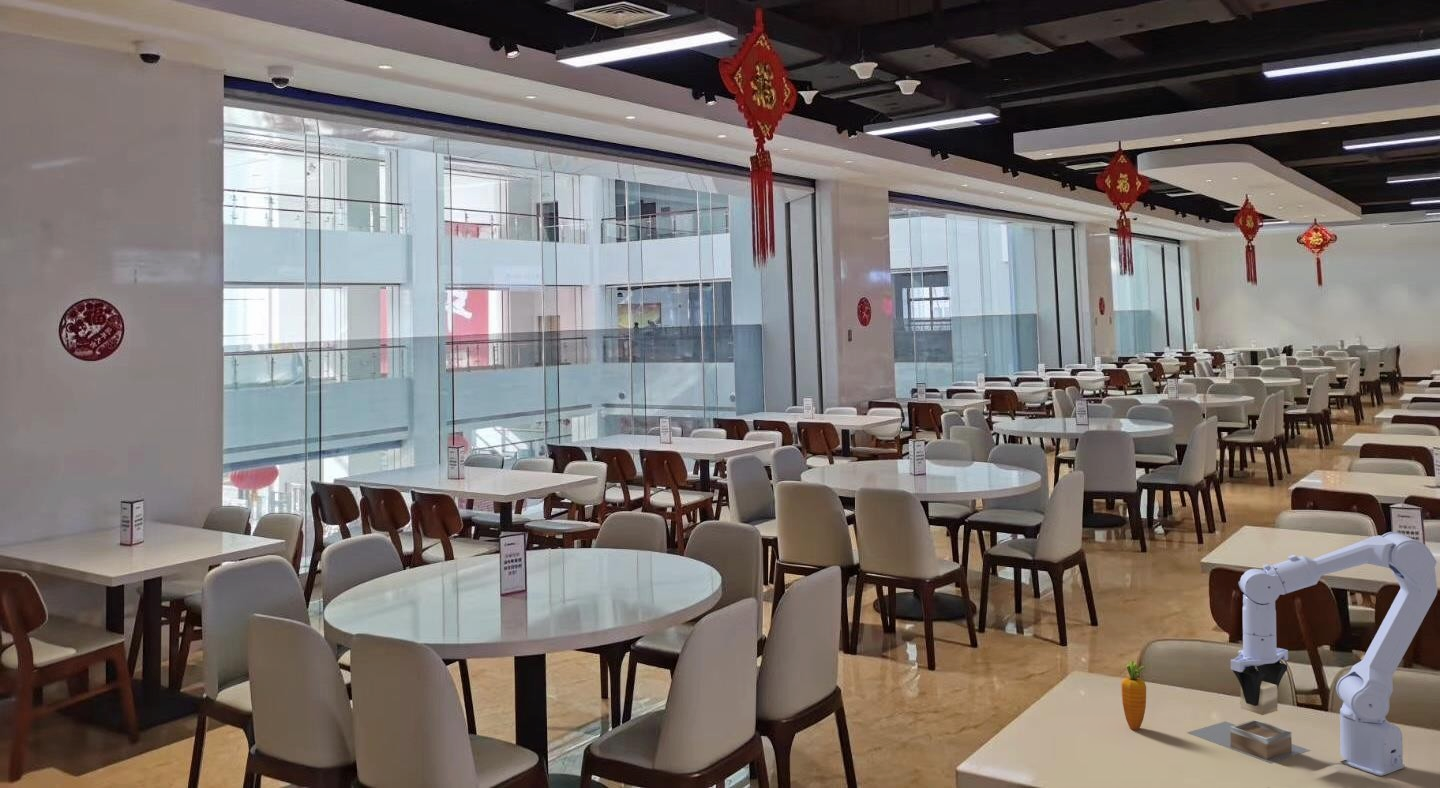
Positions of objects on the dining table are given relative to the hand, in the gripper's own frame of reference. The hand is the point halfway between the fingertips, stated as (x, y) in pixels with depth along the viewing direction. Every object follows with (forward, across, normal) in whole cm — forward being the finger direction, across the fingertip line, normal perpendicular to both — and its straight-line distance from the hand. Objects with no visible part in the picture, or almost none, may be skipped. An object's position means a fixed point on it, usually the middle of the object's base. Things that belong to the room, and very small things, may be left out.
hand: (1260, 701), depth 192 cm
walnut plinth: (+10, 0, 0) cm, 10 cm away
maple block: (+2, 0, 0) cm, 2 cm away
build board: (+10, -2, -4) cm, 11 cm away
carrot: (+11, +12, -20) cm, 25 cm away
